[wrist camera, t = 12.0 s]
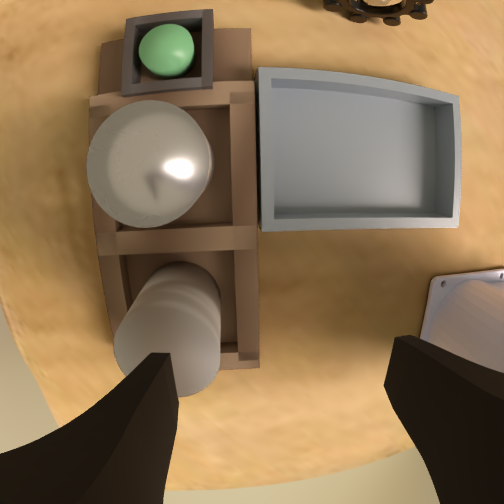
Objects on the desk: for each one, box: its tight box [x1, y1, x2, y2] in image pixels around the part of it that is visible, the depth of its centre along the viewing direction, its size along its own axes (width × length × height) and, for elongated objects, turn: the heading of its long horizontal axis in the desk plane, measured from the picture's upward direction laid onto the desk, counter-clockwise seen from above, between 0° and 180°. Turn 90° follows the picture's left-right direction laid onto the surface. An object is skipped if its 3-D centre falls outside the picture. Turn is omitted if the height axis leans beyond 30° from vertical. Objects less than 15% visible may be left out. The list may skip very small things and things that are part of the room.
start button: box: [139, 24, 196, 80], centre depth 13 cm, size 3×3×2 cm
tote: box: [254, 67, 462, 232], centre depth 16 cm, size 12×8×2 cm
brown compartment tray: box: [89, 9, 260, 397], centre depth 14 cm, size 8×20×7 cm, turn 1°
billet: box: [86, 100, 215, 228], centre depth 13 cm, size 4×4×6 cm
